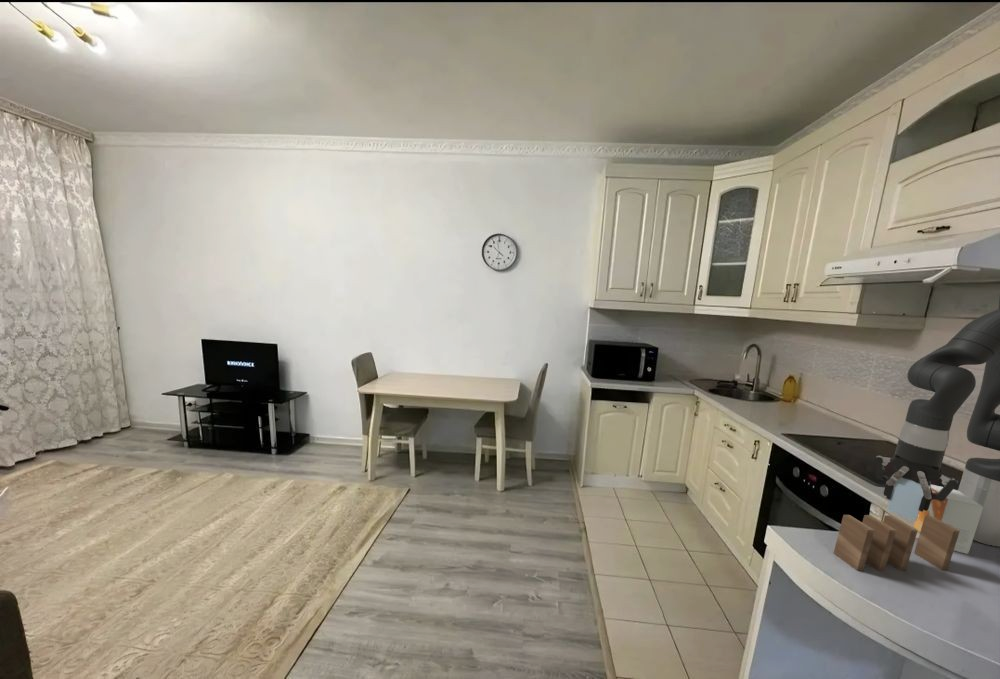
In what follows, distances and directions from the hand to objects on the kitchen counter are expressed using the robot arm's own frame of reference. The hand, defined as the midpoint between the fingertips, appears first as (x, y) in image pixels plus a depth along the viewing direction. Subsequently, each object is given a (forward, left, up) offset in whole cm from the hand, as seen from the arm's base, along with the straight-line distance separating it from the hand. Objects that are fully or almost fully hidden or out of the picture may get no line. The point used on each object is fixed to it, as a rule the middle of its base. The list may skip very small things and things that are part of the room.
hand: (904, 503), depth 90 cm
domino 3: (0, 0, -3) cm, 3 cm away
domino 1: (+26, 0, -9) cm, 27 cm away
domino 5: (+5, +7, -9) cm, 13 cm away
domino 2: (+21, +2, -9) cm, 23 cm away
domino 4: (+15, +3, -9) cm, 18 cm away
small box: (-10, +5, -9) cm, 14 cm away
